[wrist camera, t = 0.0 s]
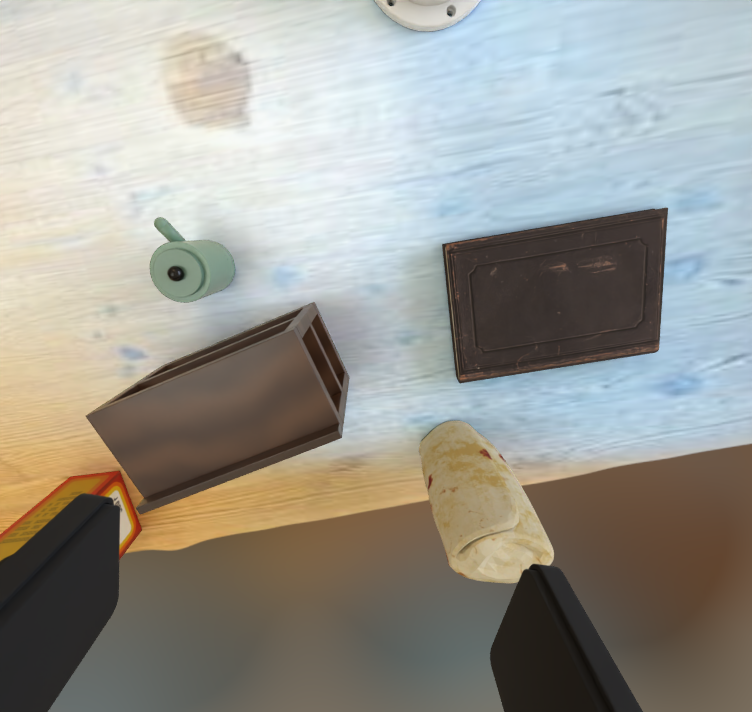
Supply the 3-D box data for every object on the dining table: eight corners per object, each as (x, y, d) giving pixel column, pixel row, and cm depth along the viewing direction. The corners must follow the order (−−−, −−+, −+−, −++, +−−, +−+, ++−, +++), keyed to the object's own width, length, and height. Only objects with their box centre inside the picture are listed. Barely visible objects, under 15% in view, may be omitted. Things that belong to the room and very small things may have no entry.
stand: (161, 366, 46) (73, 423, 32) (314, 302, 44) (290, 333, 30) (204, 435, 49) (139, 515, 35) (349, 377, 47) (342, 438, 33)
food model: (416, 463, 51) (445, 601, 32) (415, 417, 49) (446, 535, 30) (490, 459, 51) (563, 594, 32) (492, 413, 49) (572, 529, 30)
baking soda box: (70, 476, 51) (-58, 582, 35) (119, 470, 50) (12, 573, 35) (95, 535, 53) (-14, 656, 38) (141, 529, 53) (51, 649, 38)
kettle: (161, 230, 42) (111, 229, 33) (207, 209, 41) (168, 203, 33) (200, 299, 44) (161, 314, 36) (244, 280, 43) (215, 291, 35)
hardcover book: (442, 244, 43) (446, 244, 41) (652, 208, 42) (668, 207, 40) (456, 378, 48) (460, 385, 45) (645, 348, 47) (659, 354, 45)
